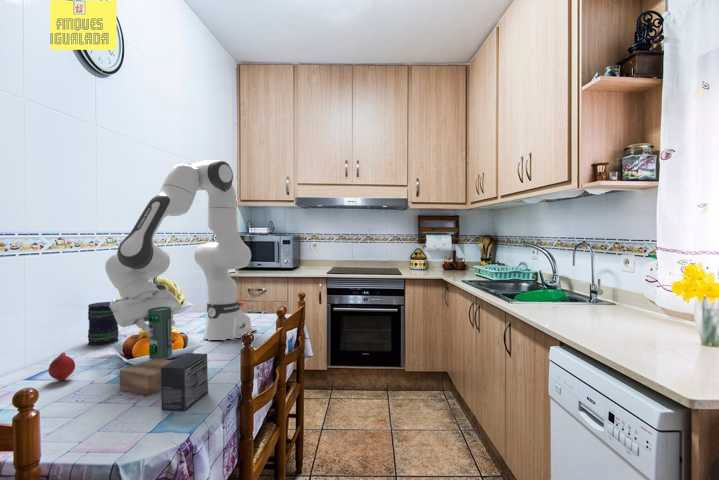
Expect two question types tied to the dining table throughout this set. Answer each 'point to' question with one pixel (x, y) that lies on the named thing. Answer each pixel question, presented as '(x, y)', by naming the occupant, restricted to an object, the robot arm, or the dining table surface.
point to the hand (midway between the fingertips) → (161, 328)
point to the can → (160, 333)
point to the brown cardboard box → (143, 377)
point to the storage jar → (101, 324)
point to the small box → (184, 382)
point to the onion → (61, 367)
